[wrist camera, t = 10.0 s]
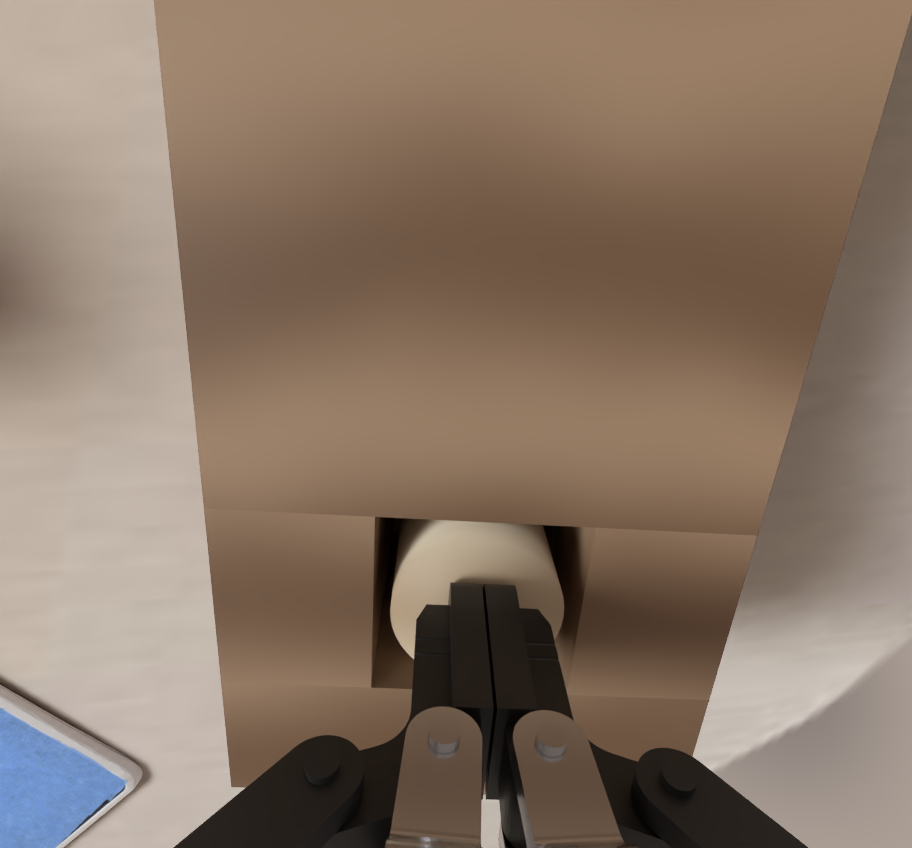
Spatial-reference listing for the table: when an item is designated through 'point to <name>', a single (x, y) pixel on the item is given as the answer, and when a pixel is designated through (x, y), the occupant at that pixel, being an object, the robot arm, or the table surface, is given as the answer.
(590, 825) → the robot arm
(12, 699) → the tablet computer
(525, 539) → the birch peg
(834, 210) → the walnut block
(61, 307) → the table surface
